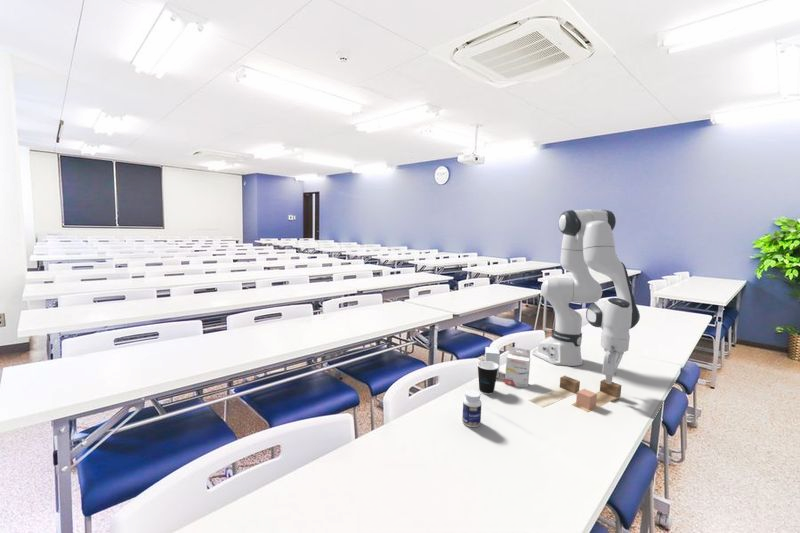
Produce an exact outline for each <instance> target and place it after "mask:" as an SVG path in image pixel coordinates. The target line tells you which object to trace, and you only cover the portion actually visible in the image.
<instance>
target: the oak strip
mask: <svg viewBox="0 0 800 533" xmlns="http://www.w3.org/2000/svg"><path fill="white" fill-rule="evenodd" d="M621 391H622V384H619V383H615V382H613V381H612V384H607V383H606V378H605V379H602V380H600V383H599V391H597V392H595V393H596V394H597V399H596V406H595V407H593V408H591V409H589V410H588V409H586V408H584V407H581V406H579V405H577V404H576V402H574V403H572V404H571V406H573V407H575V408H578V409H580V410H582V411H584V412H587V413H589V412H591V411H593V410H595V409H598V408H600V407H601V406H604V405H605V404H608V403H609V402H610V403H612V402H615V401H616V400H619V399H621V395H622V394H621V393H622V392H621Z"/></svg>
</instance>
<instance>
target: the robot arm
mask: <svg viewBox="0 0 800 533" xmlns="http://www.w3.org/2000/svg"><path fill="white" fill-rule="evenodd" d="M616 222H617V220H616V216H615V214H614V212H612V211H610V210H609V209H608V210H607V209H596V208H595V209H593V208H586V209H575V210H573V209H569V210H565V211H563V212H562V213H561V214H560V215H559V219H558V230H559V232H561V234H563V236H562V241H561V248H560V249H561V250H560V259H559V260H560V261H559V264H560V266H561V268H563V269H564V270H566V271H567V272H569V273H571V274H572V277H571V278H570V277H569V278H567V277H566V278H565V277H564V278H563V277H554V278H546V279H545V280H544V281H542V283H541V286H540V292H541V293H540V294H541V295H542V297H543V298H544V300H546V301H547V302H548V303H549V304H550V305H551V306H552V308H553V312H554V317H555V318H554V320H555V324H554V327H555V328H554V329H553V328H552V329H551V330H550V331H549V333H550V334H551V335H550V336H548V337H546V338H544V339H542V340H540V342H539V343H538V345H537V348H536V349H533V350H532V352H531V354H532V355H533V356H535V357H537V358H539V359H541V360H544V361H546V362H548V363H550V364H552V365H557V366H566V367H567V366H569V367H571V366H572V367H578V366H581V365H583V363H584V362H583V359H582V351H581V348H582V347H581V345H582V339H583V338H582V337H583V333H582V324H583V318H582V317H583V316H582V315H581V313H579V312H578V311H576V310H575V309H573V308H571V307H570V306H569V304H570V303H579V304H589V306H588V307H587V308H586V311H585V315H586V316H585V317H586V320H587V322H588V323H589V325H591V326H593V327H595V328H601V330H602V331H601V336H600V347H602V348H603V351H604V357H603V363H602V371H601V373H602V375H605V380H606V383H607V384H612V382H613V377H614V376H616V374H617V370H618V367H619V366H620V364H621V361H622V358H623V355H624V354H625V352H628V351H629V348H630V347H629V346H630V338H631V337H630V330H631V329H633V328H634V327H635V326H636V325H637V324H638V323H639V321H640V318H641V316H640V310H639V309H638V306H637V304H636V301H635V298H634V294H633V290H632V289H633V288H632V285H631V280H630V278H629V277H630V276H629V274H628V271H627V267H626V265H625V264H624V263H623V262H622V261H621V260H620V258H619V257H618V255H617V252H616V246H615V237H614V233H613V231H614V229H615V227H616ZM589 268H590V269H591V270H593V271H595V272H596V273H600V274H602V275H605V276H606V277H608V278H609V279H610V280H611V281H612V282H613V285H614V289H615V292H616V293H615V294H616V296H617V297H611V298H607V300H605V301H600V299H601V298H602V295H603V288H602V286H601V284H600V282H598V281H597V280H596V279H595V278H594V277H593V276H592V274H591V273H590V271H589ZM599 301H600V302H599Z"/></svg>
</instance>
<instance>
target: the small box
mask: <svg viewBox="0 0 800 533" xmlns="http://www.w3.org/2000/svg"><path fill="white" fill-rule="evenodd" d="M484 349H485V350H484V351H485V352H484V361H491V362H494V363H496V364H498V365H499V366H500V363H501V362H500V360H501V358H500V357H501V353H500V349H499V347H493V346H485V348H484ZM499 378H500V367H499V368H498V370H497V376H496V379H499Z"/></svg>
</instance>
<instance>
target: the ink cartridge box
mask: <svg viewBox="0 0 800 533" xmlns="http://www.w3.org/2000/svg"><path fill="white" fill-rule="evenodd" d="M505 365H506V366H505V374H504V375H505V376H504V377H505V379H504V384H505V385H507V386H513V387H517V388H522V389H524V388H528V386H529V380H530V369H531V368H530V367H531V366H530V365H531V349H527V348H521V347H514V346H509V348H508V354H507V356H506V364H505Z"/></svg>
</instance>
